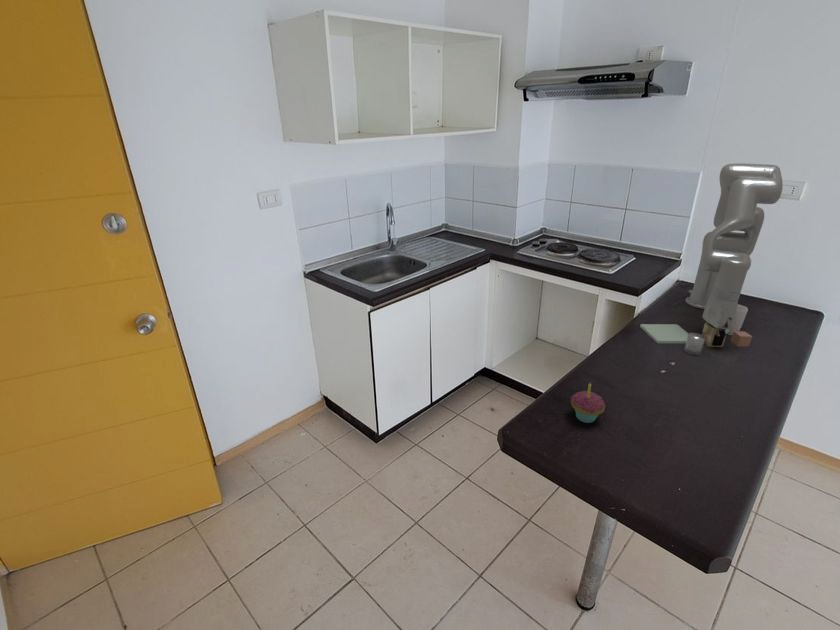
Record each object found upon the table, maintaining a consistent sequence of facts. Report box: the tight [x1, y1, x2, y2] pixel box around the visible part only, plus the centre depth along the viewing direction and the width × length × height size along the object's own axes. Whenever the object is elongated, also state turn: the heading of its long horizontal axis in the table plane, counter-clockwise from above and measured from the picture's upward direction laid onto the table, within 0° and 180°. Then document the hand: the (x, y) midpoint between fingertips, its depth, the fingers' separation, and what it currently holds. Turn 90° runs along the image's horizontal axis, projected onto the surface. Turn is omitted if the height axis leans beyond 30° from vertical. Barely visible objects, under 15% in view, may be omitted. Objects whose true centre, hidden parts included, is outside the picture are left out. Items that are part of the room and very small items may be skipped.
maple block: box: [701, 322, 727, 348], centre depth 155 cm, size 5×5×7 cm
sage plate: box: [639, 323, 689, 345], centre depth 163 cm, size 14×14×1 cm
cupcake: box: [570, 382, 606, 424], centre depth 115 cm, size 9×8×12 cm
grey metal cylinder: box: [683, 332, 705, 356], centre depth 150 cm, size 5×5×6 cm
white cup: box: [727, 304, 749, 336], centre depth 163 cm, size 8×8×10 cm
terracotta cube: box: [730, 330, 753, 348], centre depth 155 cm, size 4×4×4 cm
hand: (711, 341), depth 156 cm, fingers closed on maple block, 4 cm apart
